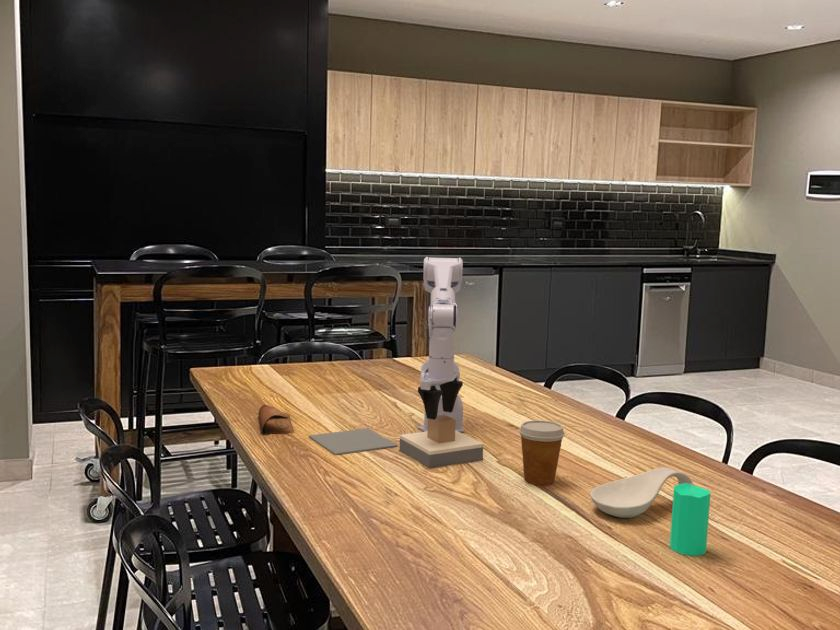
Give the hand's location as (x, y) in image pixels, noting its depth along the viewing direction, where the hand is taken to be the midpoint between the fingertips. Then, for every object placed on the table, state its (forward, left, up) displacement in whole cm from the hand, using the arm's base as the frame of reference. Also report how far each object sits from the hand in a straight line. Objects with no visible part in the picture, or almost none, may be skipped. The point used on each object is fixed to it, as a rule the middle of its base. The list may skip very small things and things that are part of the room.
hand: (439, 415), depth 190 cm
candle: (-12, +63, -10) cm, 65 cm away
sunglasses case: (+25, -39, -10) cm, 48 cm away
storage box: (0, 0, -9) cm, 9 cm away
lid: (0, 0, -6) cm, 6 cm away
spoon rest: (-20, +45, -10) cm, 50 cm away
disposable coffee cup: (-10, +24, -10) cm, 28 cm away
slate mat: (+14, -18, -9) cm, 24 cm away
